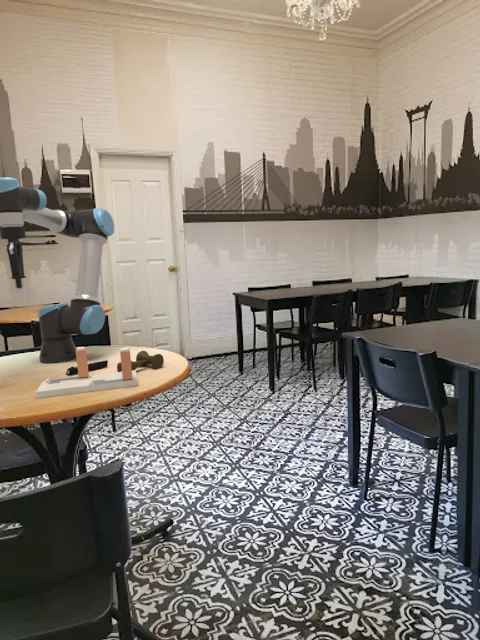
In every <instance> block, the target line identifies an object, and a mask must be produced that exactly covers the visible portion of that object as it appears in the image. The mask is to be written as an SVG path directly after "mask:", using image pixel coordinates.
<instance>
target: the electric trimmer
mask: <svg viewBox="0 0 480 640" xmlns="http://www.w3.org/2000/svg"><path fill="white" fill-rule="evenodd" d="M108 363H109V360H102V361H95V362H92V363H91V362H90V363H88V372H93V371H96V370H100V369H103V368H106V367H108V365H109V364H108ZM76 374H78V367H77V366H75V367H74V366H70V367H68V368H67V369H66V372H65V375H66V376H68V377H73V375H76Z"/></svg>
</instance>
